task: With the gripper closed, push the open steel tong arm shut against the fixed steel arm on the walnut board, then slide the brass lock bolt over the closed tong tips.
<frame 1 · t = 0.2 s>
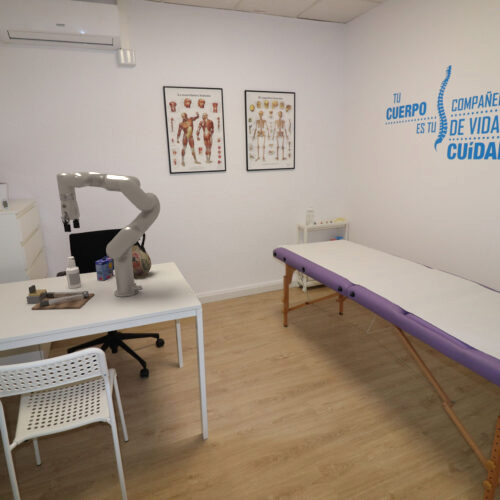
hand: (72, 230, 188), 36 cm above the table, tool pointing down, fingers open, 9 cm apart
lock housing: (38, 300, 190), on the table
tong arm: (65, 298, 185), point 3 cm above the table, hinge at 25.0°
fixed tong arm: (65, 298, 192), resting on tong board
lock bolt: (37, 290, 189), point 6 cm above the table, slide at 0.0 cm
ink cartridge box: (106, 278, 223), on the table
ceramic jug: (141, 276, 226), on the table
tong board: (64, 302, 187), on the table
spray bottle: (75, 287, 210), on the table
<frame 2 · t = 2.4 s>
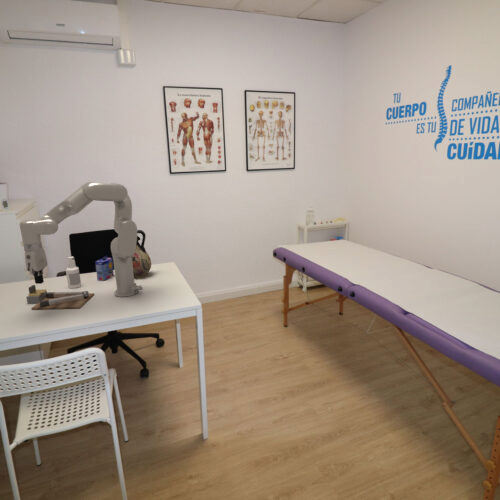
hand: (39, 283, 172), 15 cm above the table, tool pointing down, fingers closed
nothing on the table moved.
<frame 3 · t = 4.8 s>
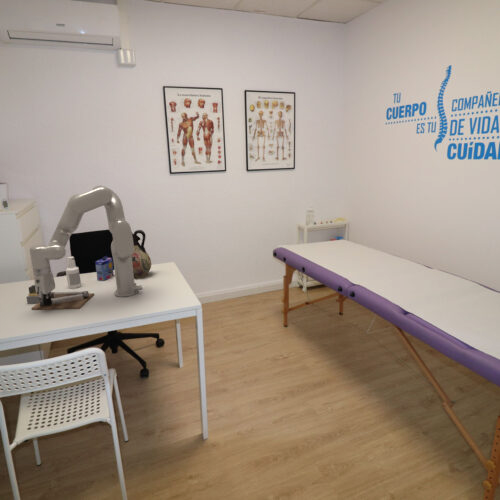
hand: (48, 305, 179), 2 cm above the table, tool pointing down, fingers closed
tong arm: (65, 298, 186), point 3 cm above the table, hinge at 23.0°, touching gripper
everything else where it was.
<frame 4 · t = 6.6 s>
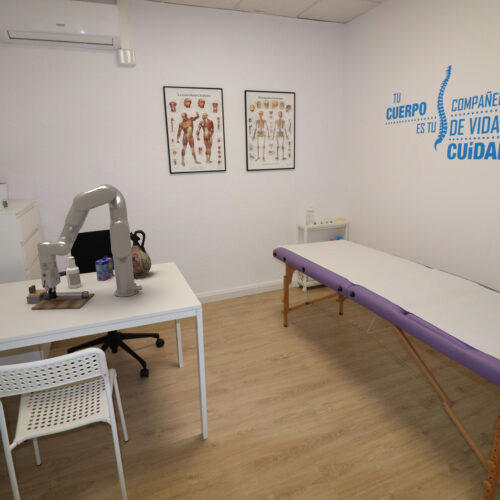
hand: (53, 298, 186), 2 cm above the table, tool pointing down, fingers closed
tong arm: (66, 295, 189), point 3 cm above the table, hinge at -1.1°, touching gripper
everything else where it was.
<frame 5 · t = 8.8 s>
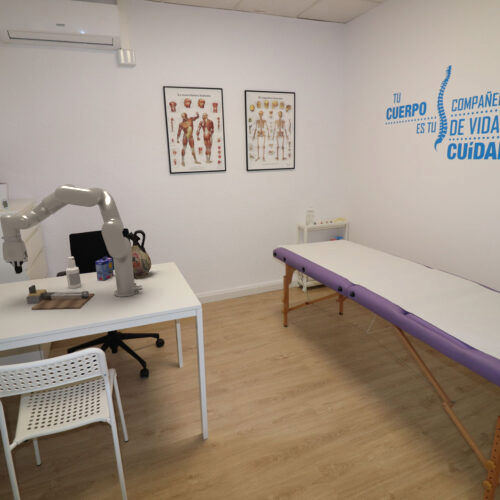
hand: (19, 273, 186), 16 cm above the table, tool pointing down, fingers closed
tong arm: (66, 295, 189), point 3 cm above the table, hinge at -1.0°
everything else where it was.
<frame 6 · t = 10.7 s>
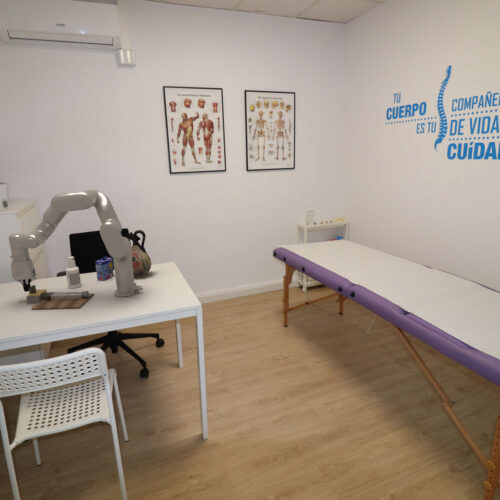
hand: (27, 290, 189), 6 cm above the table, tool pointing down, fingers closed
lock bolt: (37, 290, 189), point 6 cm above the table, slide at 0.1 cm, touching gripper
everything else where it was.
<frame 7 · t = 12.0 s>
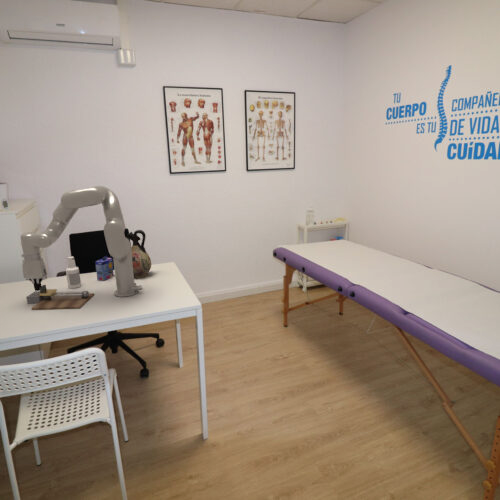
hand: (38, 289, 189), 6 cm above the table, tool pointing down, fingers closed
lock bolt: (47, 289, 189), point 6 cm above the table, slide at 5.6 cm, touching gripper
everything else where it was.
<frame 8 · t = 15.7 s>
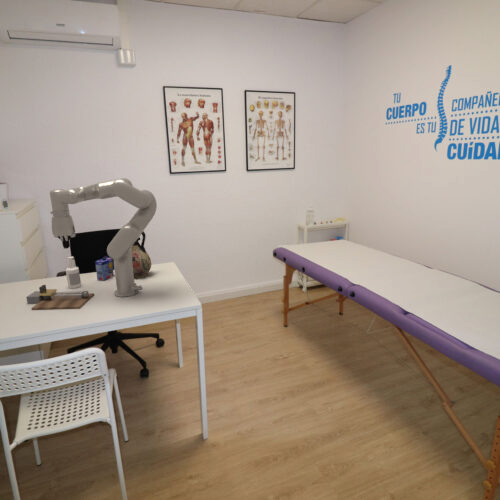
hand: (66, 247, 189), 27 cm above the table, tool pointing down, fingers closed
lock bolt: (47, 289, 189), point 6 cm above the table, slide at 5.6 cm
everything else where it was.
at the end: tong arm at -1° (first picture: +25°); lock bolt slide at 5.6 cm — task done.
